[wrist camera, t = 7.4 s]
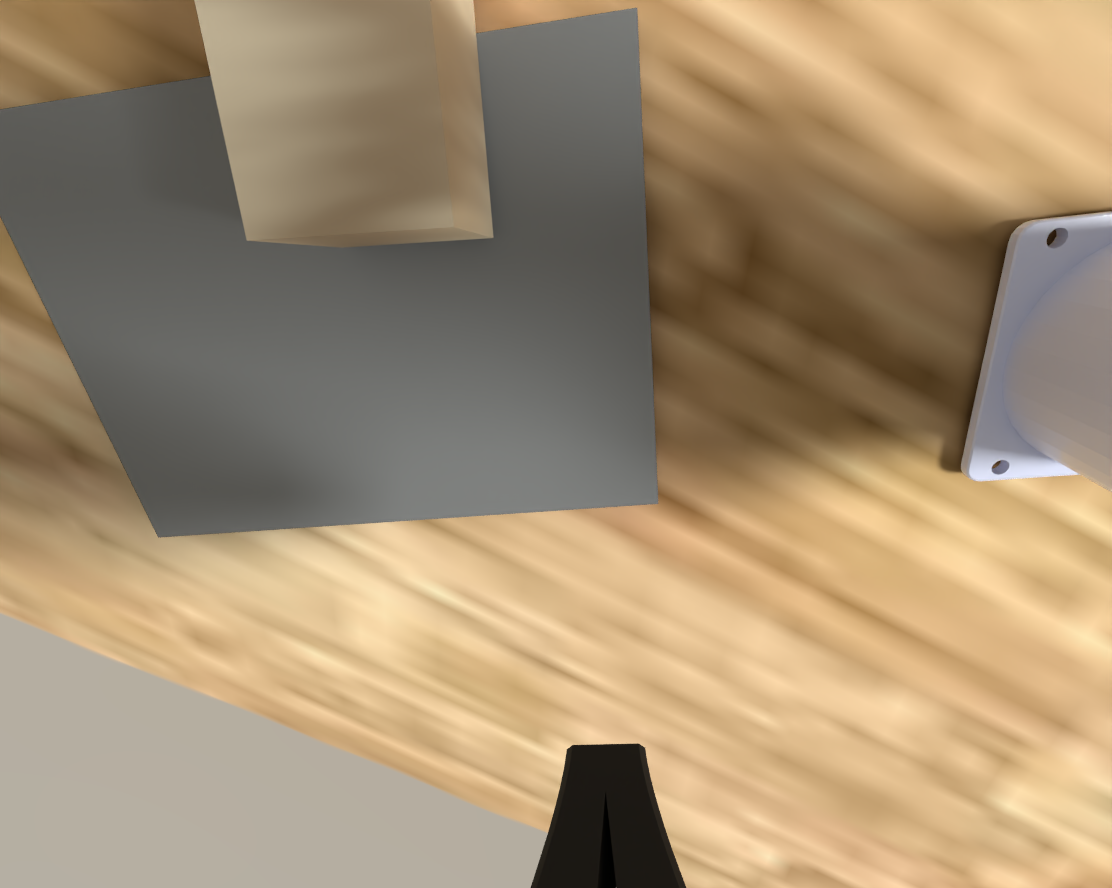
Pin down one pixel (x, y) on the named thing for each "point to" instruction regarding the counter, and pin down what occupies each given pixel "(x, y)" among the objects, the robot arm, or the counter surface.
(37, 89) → the counter surface
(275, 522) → the mat
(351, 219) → the tall block
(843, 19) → the counter surface
